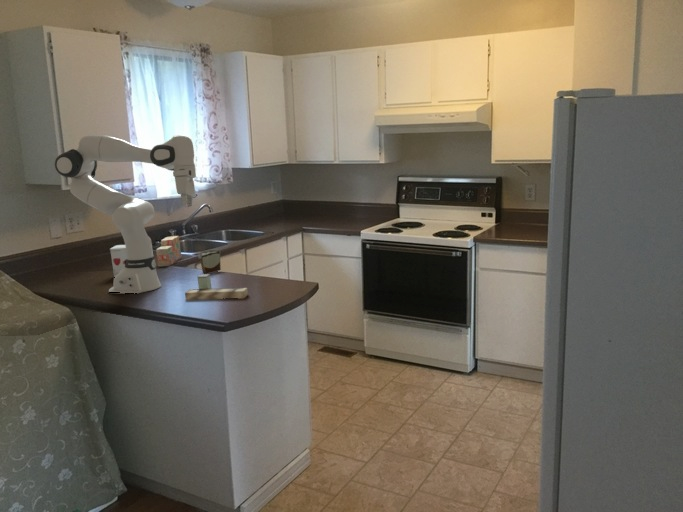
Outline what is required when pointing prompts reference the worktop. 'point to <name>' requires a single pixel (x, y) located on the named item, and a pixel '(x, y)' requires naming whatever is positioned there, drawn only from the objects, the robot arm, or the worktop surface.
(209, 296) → the maple plank
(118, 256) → the supplement box
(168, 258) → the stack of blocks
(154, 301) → the worktop surface
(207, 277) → the post
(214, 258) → the food container
